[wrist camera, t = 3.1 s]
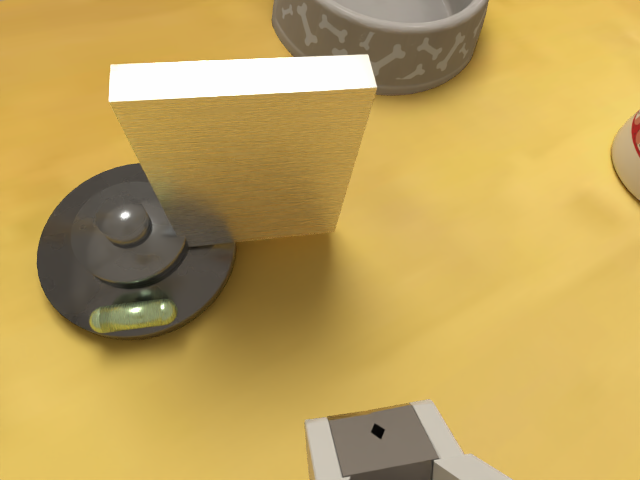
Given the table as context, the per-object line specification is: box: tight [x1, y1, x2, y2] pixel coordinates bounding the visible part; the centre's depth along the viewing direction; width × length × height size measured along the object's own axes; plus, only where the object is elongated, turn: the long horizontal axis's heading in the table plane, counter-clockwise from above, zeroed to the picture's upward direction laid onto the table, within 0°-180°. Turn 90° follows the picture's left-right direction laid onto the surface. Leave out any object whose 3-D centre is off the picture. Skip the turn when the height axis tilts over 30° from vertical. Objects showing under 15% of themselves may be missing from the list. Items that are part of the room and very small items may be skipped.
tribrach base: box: [37, 163, 236, 340], centre depth 25 cm, size 11×11×2 cm
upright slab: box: [71, 54, 377, 289], centre depth 20 cm, size 14×6×12 cm, turn 99°
